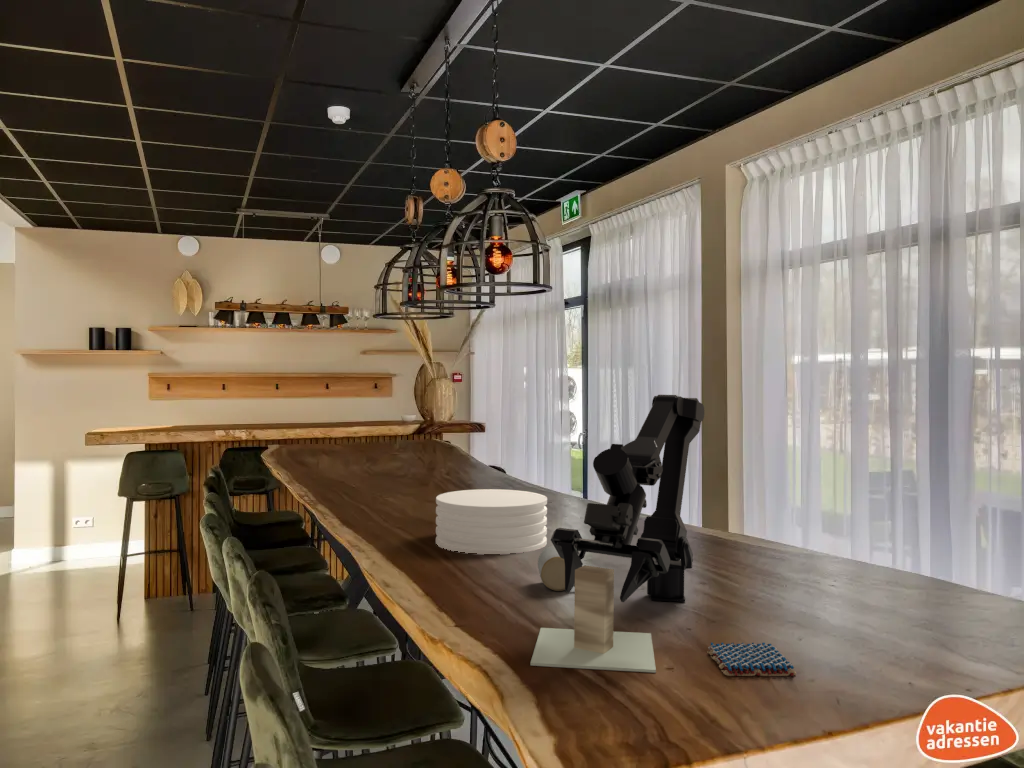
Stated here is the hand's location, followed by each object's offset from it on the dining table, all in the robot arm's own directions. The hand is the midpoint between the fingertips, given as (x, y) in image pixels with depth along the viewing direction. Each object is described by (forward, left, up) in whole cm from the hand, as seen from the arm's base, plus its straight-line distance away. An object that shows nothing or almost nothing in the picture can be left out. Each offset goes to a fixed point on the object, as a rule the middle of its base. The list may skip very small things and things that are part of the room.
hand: (593, 596), depth 121 cm
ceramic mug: (+7, -36, -9) cm, 37 cm away
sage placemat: (0, 0, -8) cm, 8 cm away
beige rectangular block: (0, 0, -8) cm, 8 cm away
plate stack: (+28, -75, -9) cm, 80 cm away
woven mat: (-23, +2, -9) cm, 25 cm away
